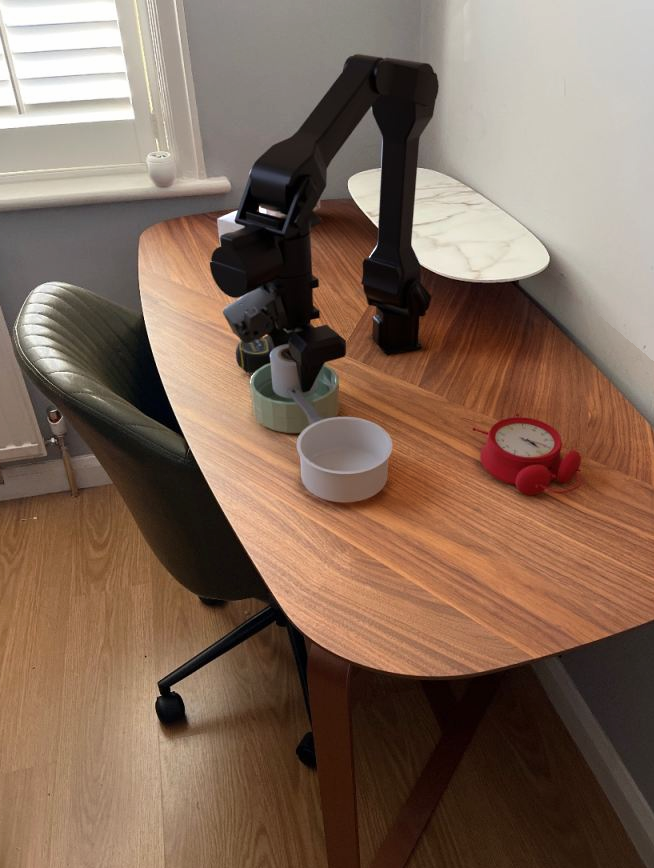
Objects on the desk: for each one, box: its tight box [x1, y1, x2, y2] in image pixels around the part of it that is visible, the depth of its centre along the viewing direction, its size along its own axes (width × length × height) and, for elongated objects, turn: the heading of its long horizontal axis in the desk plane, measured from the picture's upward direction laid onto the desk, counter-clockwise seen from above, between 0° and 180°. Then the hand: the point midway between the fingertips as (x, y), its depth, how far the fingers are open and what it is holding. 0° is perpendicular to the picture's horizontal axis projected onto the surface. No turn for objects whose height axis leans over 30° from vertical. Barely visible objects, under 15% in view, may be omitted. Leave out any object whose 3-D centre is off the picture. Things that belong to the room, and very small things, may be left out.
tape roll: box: [270, 344, 318, 399], centre depth 101 cm, size 6×6×5 cm
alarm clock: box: [472, 412, 583, 496], centre depth 94 cm, size 10×6×15 cm
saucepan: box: [287, 387, 393, 503], centre depth 94 cm, size 12×20×6 cm, turn 31°
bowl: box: [249, 363, 340, 434], centre depth 103 cm, size 12×12×5 cm
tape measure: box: [235, 335, 273, 374], centre depth 113 cm, size 7×7×4 cm
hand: (295, 380), depth 102 cm, fingers closed on tape roll, 6 cm apart
